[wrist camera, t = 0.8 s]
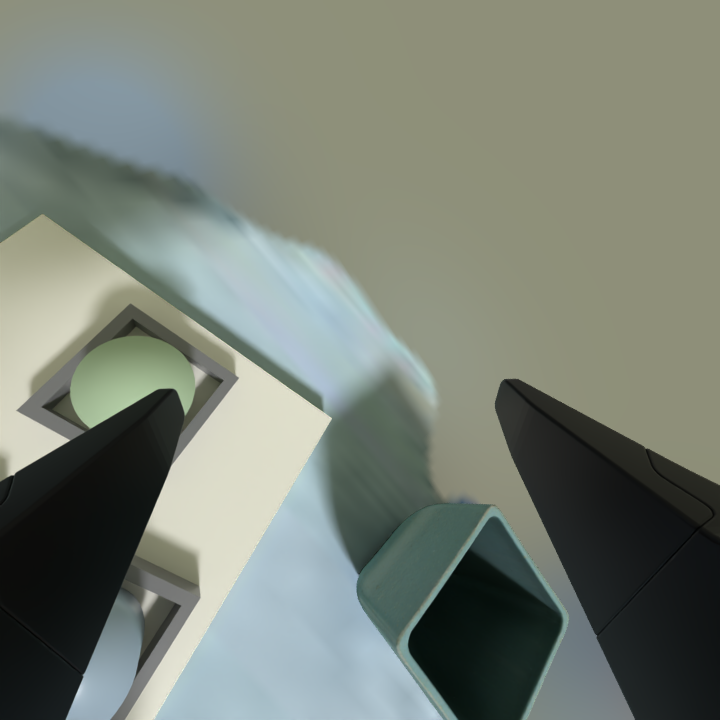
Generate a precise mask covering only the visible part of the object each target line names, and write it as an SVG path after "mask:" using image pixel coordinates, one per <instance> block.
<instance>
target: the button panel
mask: <svg viewBox="0 0 720 720" xmlns="http://www.w3.org/2000/svg"><path fill="white" fill-rule="evenodd" d="M127 336H146V337H152V338H156V339H159V340H162V341H164V342H166V343H168V344H170V345H172V346H173V347H175V348H176V349H177V350H179V351H180V352H181V353H182V354H183V355H184V356H185V358H186V359H187V360H188V362H189V364H190V365H191V367H192V370H193V373H194V377H195V393H194V397H193V402H192V405H191V408H190V409H189V411H188V413H187V415H186V416H185V420H184V423H183V427H182V430H181V434H180V437H179V441H178V444H177V448H176V451H175V455H174V458H173V462H172V465H171V468H170V471H169V473H168V476H167V479H166V481H165V483H164V486H163V488H162V491H161V493H160V495H159V498H158V500H157V502H156V505H155V507H154V510H153V512H152V514H151V517H150V519H149V522H148V524H147V526H146V529H145V531H144V533H143V536H142V538H141V541H140V543H139V545H138V548H137V550H136V553H135V555H134V557H133V560H132V562H131V564H130V567H129V569H128V572H127V574H126V576H125V579H124V581H123V584H122V586H121V587H122V588H124V589H126V590H127V591H129V592H130V593H131V594H133V595H134V597H135V598H136V599H137V600H138V602H139V603H140V605H141V608H142V610H143V614H144V619H145V630H144V637H143V642H142V647H141V651H140V656H139V661H138V666H137V671H136V675H135V678H134V681H133V684H132V686H131V688H130V690H129V693H128V694H127V696H126V698H125V700H124V701H123V703H122V705H121V706H120V707H119V709H118V710H117V712H116V713H115V714H114V715H113V717H112V718H111V719H110V720H154V718H155V717H156V715H157V713H158V712H159V710H160V708H161V706H162V705H163V703H164V701H165V700H166V698H167V696H168V695H169V693H170V691H171V690H172V688H173V686H174V685H175V683H176V681H177V679H178V678H179V676H180V674H181V673H182V671H183V669H184V668H185V666H186V664H187V663H188V661H189V659H190V657H191V656H192V654H193V652H194V651H195V649H196V647H197V646H198V644H199V642H200V641H201V639H202V637H203V636H204V634H205V632H206V630H207V629H208V627H209V625H210V624H211V622H212V620H213V619H214V617H215V615H216V614H217V612H218V610H219V609H220V607H221V605H222V603H223V602H224V600H225V598H226V597H227V595H228V593H229V592H230V590H231V588H232V587H233V585H234V583H235V581H236V580H237V578H238V576H239V575H240V573H241V571H242V570H243V568H244V566H245V565H246V563H247V561H248V560H249V558H250V556H251V554H252V553H253V551H254V549H255V548H256V546H257V544H258V543H259V541H260V539H261V538H262V536H263V534H264V533H265V531H266V529H267V527H268V526H269V524H270V522H271V521H272V519H273V517H274V516H275V514H276V512H277V511H278V509H279V507H280V506H281V504H282V502H283V500H284V499H285V497H286V495H287V494H288V492H289V490H290V489H291V487H292V485H293V484H294V482H295V480H296V478H297V477H298V475H299V473H300V472H301V470H302V468H303V467H304V465H305V463H306V462H307V460H308V458H309V457H310V455H311V453H312V451H313V450H314V448H315V446H316V445H317V443H318V441H319V440H320V438H321V436H322V435H323V433H324V431H325V430H326V428H327V426H328V424H329V423H330V421H331V419H332V418H331V417H329V416H328V415H326V414H325V413H324V412H322V411H321V410H319V409H318V408H317V407H315V406H314V405H312V404H311V403H309V402H308V401H307V400H305V399H304V398H302V397H301V396H300V395H298V394H297V393H295V392H294V391H292V390H291V389H290V388H288V387H287V386H285V385H284V384H283V383H281V382H280V381H278V380H277V379H276V378H274V377H273V376H271V375H270V374H268V373H267V372H266V371H264V370H263V369H261V368H260V367H259V366H257V365H256V364H254V363H253V362H251V361H250V360H249V359H247V358H246V357H244V356H243V355H242V354H240V353H239V352H237V351H236V350H234V349H233V348H232V347H230V346H229V345H227V344H226V343H225V342H223V341H222V340H220V339H219V338H218V337H216V336H215V335H213V334H212V333H210V332H209V331H208V330H206V329H205V328H203V327H202V326H201V325H199V324H198V323H196V322H195V321H193V320H192V319H191V318H189V317H188V316H186V315H185V314H184V313H182V312H181V311H179V310H178V309H176V308H175V307H174V306H172V305H171V304H169V303H168V302H167V301H165V300H164V299H162V298H161V297H160V296H158V295H157V294H155V293H154V292H152V291H151V290H150V289H148V288H147V287H145V286H144V285H143V284H141V283H140V282H138V281H137V280H135V279H134V278H133V277H131V276H130V275H128V274H127V273H126V272H124V271H123V270H121V269H120V268H119V267H117V266H116V265H114V264H113V263H111V262H110V261H109V260H107V259H106V258H104V257H103V256H102V255H100V254H99V253H97V252H96V251H94V250H93V249H92V248H90V247H89V246H87V245H86V244H85V243H83V242H82V241H80V240H79V239H77V238H76V237H75V236H73V235H72V234H70V233H69V232H68V231H66V230H65V229H63V228H62V227H61V226H59V225H58V224H56V223H55V222H53V221H52V220H51V219H49V218H48V217H46V216H45V215H44V214H42V215H40V216H39V217H37V218H36V219H34V220H33V221H31V222H30V223H29V224H27V225H26V226H24V227H23V228H21V229H20V230H18V231H17V232H16V233H14V234H13V235H11V236H10V237H8V238H7V239H5V240H4V241H3V242H1V243H0V481H2V480H3V479H5V478H7V477H9V476H10V475H14V474H15V473H16V472H17V471H19V470H21V469H22V468H24V467H26V466H28V465H29V464H31V463H33V462H34V461H36V460H38V459H39V458H41V457H43V456H45V455H46V454H48V453H50V452H51V451H53V450H55V449H57V448H58V447H60V446H62V445H63V444H65V443H67V442H68V441H70V440H72V439H74V438H75V437H77V436H79V435H80V434H82V433H84V432H86V431H87V430H89V429H91V428H89V427H88V426H87V425H86V424H85V423H83V421H82V420H81V419H80V418H79V417H78V415H77V413H76V412H75V410H74V407H73V405H72V401H71V396H70V387H71V381H72V377H73V374H74V372H75V370H76V368H77V366H78V365H79V363H80V362H81V361H82V360H83V358H84V357H85V356H86V355H87V354H88V353H90V352H91V351H92V350H93V349H95V348H96V347H98V346H99V345H101V344H104V343H106V342H108V341H111V340H113V339H117V338H121V337H127Z"/></svg>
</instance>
